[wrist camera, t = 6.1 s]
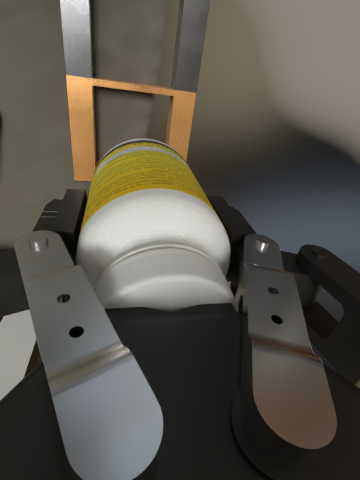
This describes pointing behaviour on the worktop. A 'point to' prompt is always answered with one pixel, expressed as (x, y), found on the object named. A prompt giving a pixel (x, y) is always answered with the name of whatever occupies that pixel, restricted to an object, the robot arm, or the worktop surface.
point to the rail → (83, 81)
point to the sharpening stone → (15, 349)
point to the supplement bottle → (152, 232)
